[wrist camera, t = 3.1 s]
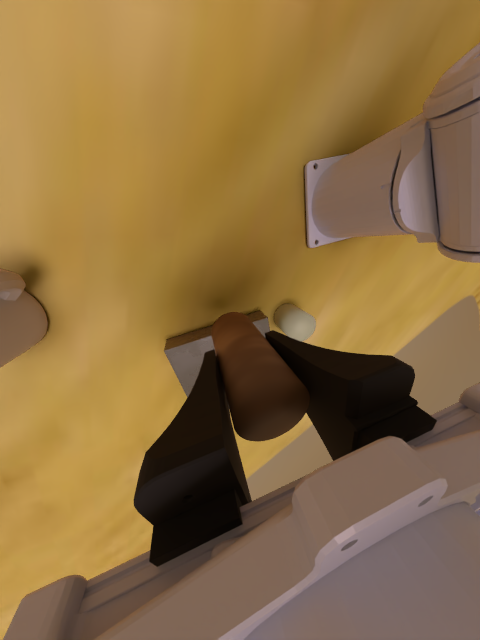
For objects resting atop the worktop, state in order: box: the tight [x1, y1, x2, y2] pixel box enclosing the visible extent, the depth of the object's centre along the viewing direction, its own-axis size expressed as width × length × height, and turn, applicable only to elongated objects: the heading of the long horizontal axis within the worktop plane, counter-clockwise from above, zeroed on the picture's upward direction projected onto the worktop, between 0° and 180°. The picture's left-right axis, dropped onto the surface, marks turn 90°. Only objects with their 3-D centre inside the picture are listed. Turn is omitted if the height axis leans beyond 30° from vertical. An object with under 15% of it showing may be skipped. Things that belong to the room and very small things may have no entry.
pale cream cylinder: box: [274, 304, 316, 341], centre depth 22 cm, size 4×4×4 cm
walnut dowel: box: [211, 312, 310, 441], centre depth 11 cm, size 4×4×8 cm
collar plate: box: [164, 311, 270, 406], centre depth 23 cm, size 12×12×2 cm
